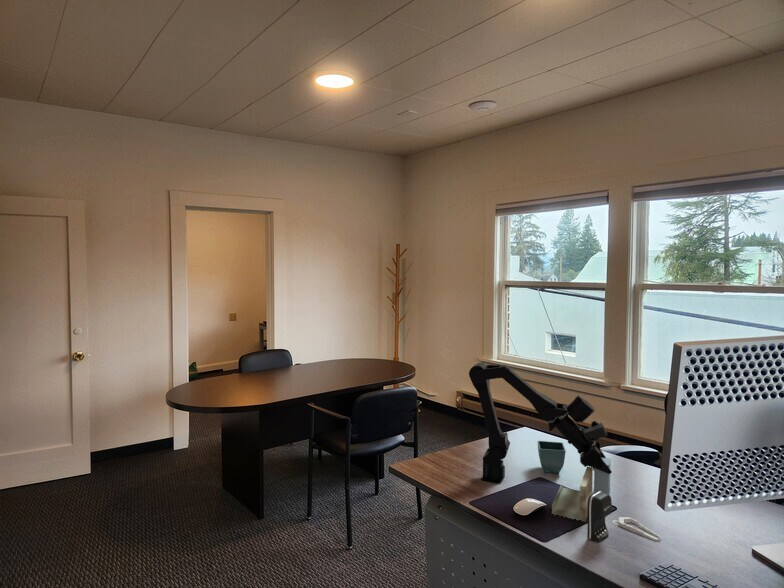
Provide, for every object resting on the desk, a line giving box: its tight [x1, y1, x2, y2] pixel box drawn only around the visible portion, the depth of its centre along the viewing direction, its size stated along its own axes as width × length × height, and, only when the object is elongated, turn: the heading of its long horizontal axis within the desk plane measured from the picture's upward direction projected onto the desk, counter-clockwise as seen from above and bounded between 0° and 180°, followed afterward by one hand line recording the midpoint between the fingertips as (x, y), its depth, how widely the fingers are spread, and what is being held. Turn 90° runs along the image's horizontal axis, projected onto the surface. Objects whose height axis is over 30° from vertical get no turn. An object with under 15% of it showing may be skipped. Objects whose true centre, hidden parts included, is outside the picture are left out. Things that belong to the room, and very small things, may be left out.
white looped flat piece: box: [612, 516, 662, 542], centre depth 137 cm, size 13×5×2 cm, turn 37°
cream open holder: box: [551, 466, 594, 523], centre depth 149 cm, size 9×16×10 cm, turn 152°
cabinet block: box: [593, 457, 611, 495], centre depth 159 cm, size 5×6×10 cm
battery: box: [587, 491, 613, 542], centre depth 132 cm, size 7×4×11 cm, turn 131°
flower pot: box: [537, 440, 567, 474], centre depth 178 cm, size 9×9×9 cm
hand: (610, 469), depth 157 cm, fingers open, 6 cm apart
